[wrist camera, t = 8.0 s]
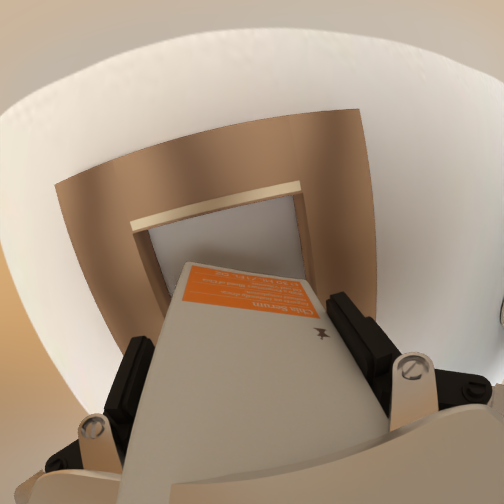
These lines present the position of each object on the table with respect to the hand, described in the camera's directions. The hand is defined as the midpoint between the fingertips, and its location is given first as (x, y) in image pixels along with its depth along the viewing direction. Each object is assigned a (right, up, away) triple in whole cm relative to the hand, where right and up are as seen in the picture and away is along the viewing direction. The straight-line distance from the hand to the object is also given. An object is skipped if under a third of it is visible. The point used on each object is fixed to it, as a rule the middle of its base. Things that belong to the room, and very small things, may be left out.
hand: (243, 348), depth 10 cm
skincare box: (0, +1, +3) cm, 3 cm away
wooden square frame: (-1, +2, +7) cm, 7 cm away
